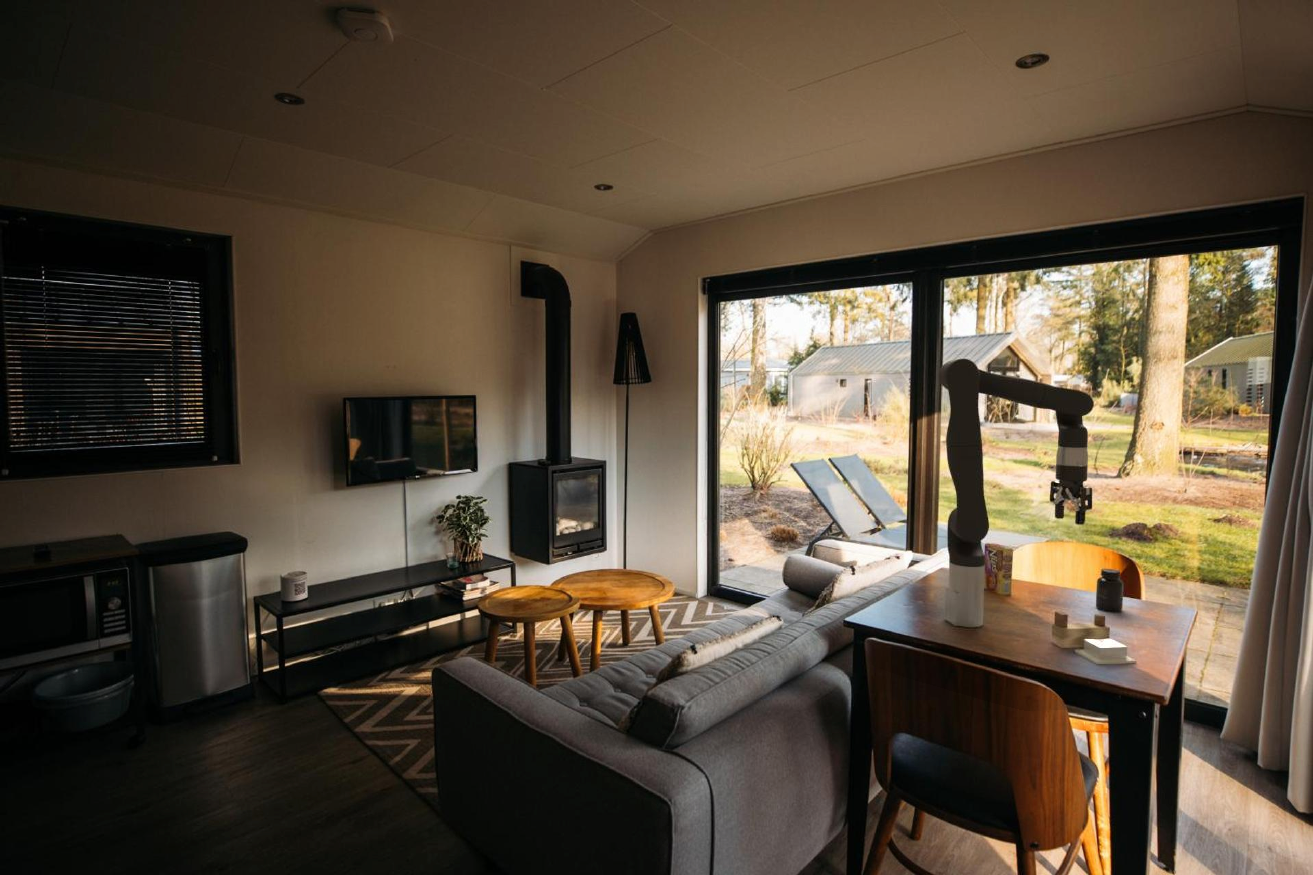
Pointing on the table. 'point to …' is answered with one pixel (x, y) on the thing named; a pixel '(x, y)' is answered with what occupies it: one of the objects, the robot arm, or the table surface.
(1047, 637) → the table surface
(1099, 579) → the supplement bottle
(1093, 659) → the mat
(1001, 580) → the candy box
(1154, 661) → the table surface
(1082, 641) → the body
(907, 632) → the table surface
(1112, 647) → the lever cap
